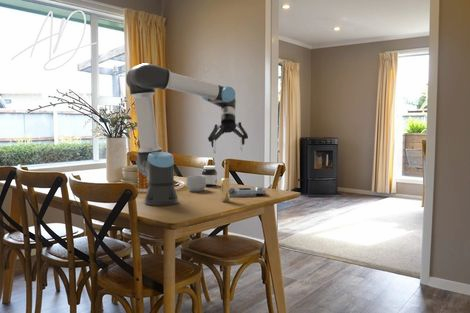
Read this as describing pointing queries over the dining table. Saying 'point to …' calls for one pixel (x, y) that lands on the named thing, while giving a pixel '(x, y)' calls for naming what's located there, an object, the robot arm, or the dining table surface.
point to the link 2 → (250, 190)
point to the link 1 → (233, 194)
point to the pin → (225, 190)
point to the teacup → (196, 183)
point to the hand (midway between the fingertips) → (227, 150)
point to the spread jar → (210, 176)
